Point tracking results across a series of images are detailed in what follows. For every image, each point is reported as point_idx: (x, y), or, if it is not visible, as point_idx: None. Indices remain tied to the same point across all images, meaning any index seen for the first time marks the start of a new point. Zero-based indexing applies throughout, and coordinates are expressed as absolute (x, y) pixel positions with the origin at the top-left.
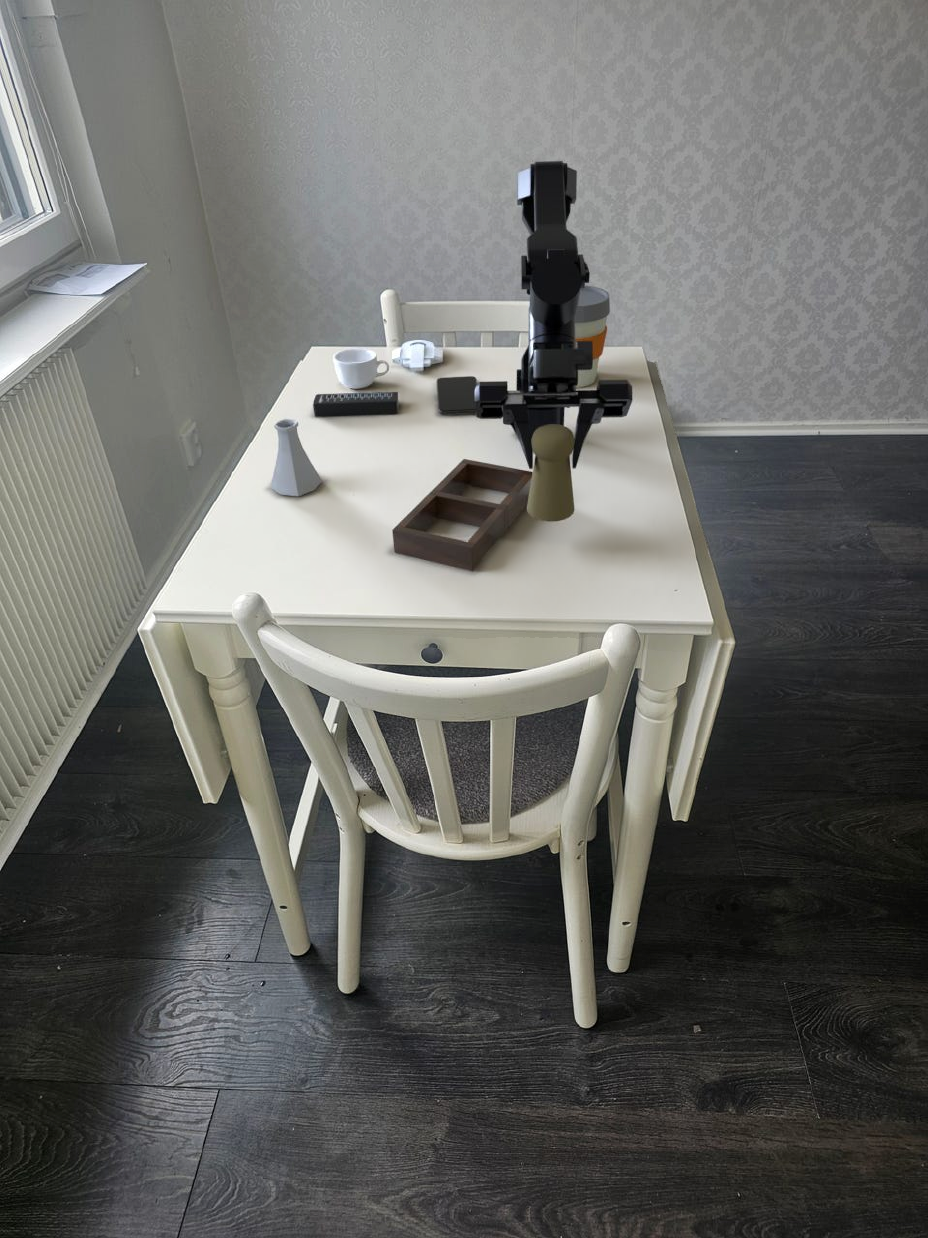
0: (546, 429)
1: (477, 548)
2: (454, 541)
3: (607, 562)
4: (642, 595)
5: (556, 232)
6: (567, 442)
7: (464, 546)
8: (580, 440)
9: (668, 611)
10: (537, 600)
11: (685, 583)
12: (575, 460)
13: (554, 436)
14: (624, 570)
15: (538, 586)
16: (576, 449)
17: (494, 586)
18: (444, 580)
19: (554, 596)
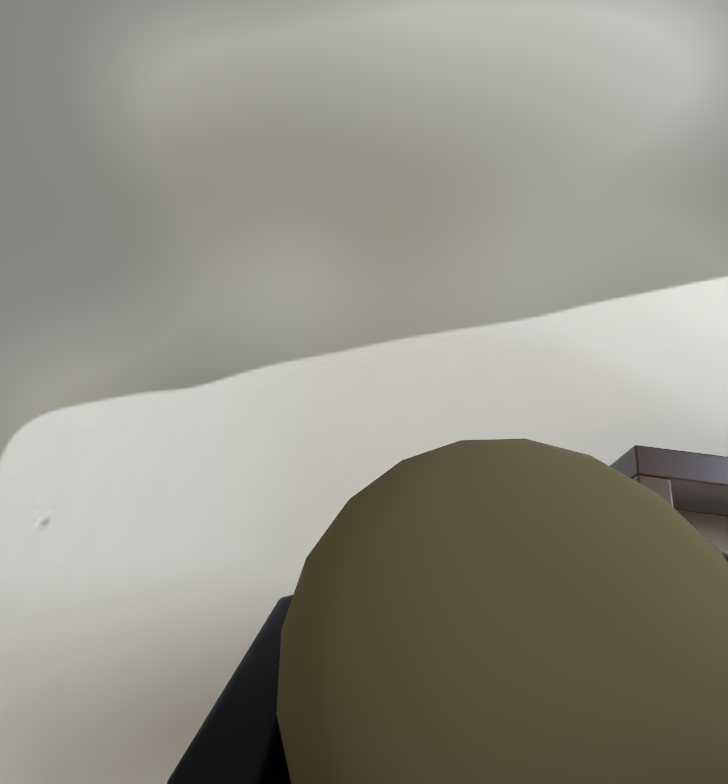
0: (638, 629)
1: None
2: (710, 467)
3: (228, 622)
4: (136, 478)
5: None
6: (329, 531)
7: (662, 449)
8: (215, 751)
9: (80, 431)
10: (391, 397)
11: (10, 563)
12: (284, 615)
13: (474, 495)
14: (177, 589)
15: (404, 451)
16: (269, 672)
17: (513, 424)
18: (649, 418)
19: (354, 421)
